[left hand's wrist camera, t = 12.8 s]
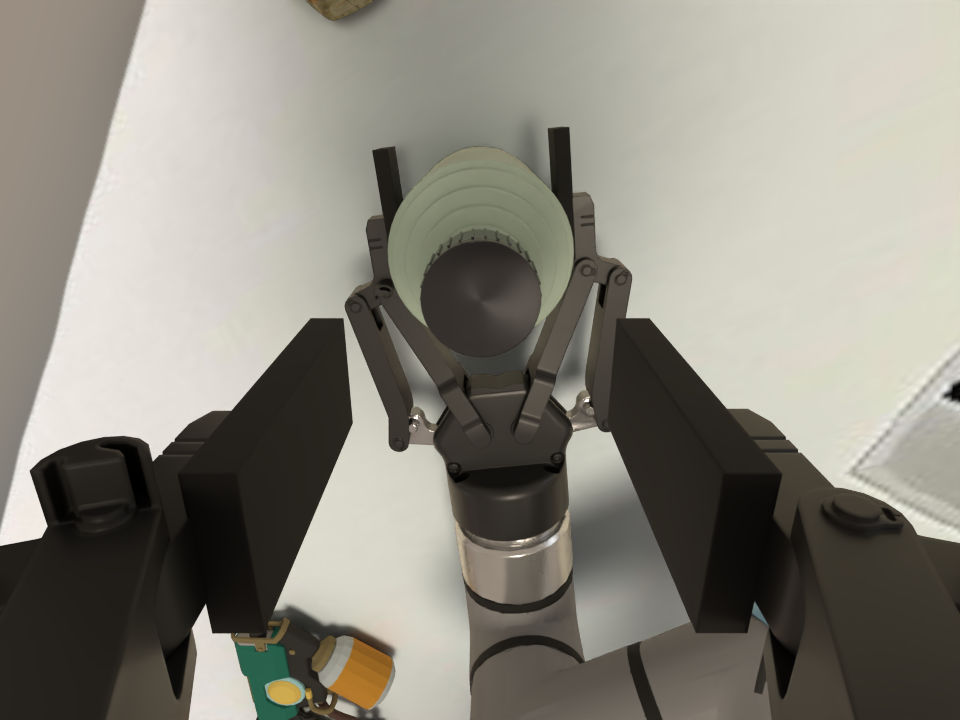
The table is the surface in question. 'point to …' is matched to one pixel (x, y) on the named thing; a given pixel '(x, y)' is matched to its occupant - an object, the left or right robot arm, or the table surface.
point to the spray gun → (310, 672)
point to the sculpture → (337, 7)
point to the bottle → (480, 220)
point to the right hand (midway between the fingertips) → (470, 138)
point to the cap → (480, 293)
